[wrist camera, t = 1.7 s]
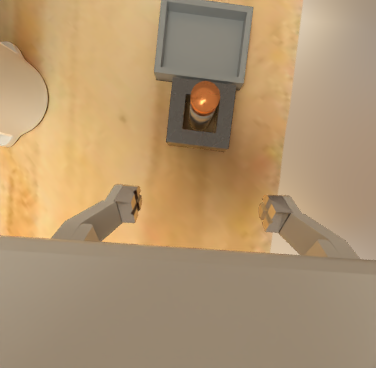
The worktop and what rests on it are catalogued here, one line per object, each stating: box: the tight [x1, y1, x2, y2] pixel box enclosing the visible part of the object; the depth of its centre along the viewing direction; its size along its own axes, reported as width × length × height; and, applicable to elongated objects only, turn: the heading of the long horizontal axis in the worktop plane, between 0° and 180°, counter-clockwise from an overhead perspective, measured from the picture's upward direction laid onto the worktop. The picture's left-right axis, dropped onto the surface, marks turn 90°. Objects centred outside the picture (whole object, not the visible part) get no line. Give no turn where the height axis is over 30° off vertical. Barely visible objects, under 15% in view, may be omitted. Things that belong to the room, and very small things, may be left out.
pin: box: [189, 81, 220, 131], centre depth 28 cm, size 4×4×10 cm
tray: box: [154, 0, 253, 90], centre depth 31 cm, size 16×13×2 cm
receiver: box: [166, 77, 236, 152], centre depth 31 cm, size 11×11×4 cm
